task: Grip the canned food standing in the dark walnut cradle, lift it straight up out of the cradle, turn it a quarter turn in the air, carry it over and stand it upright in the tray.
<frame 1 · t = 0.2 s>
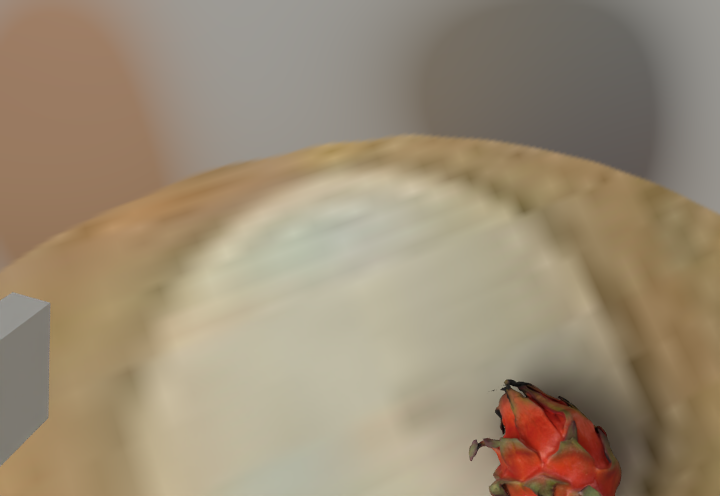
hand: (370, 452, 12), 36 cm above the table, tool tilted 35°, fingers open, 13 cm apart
dragon fruit: (532, 460, 46), on the table
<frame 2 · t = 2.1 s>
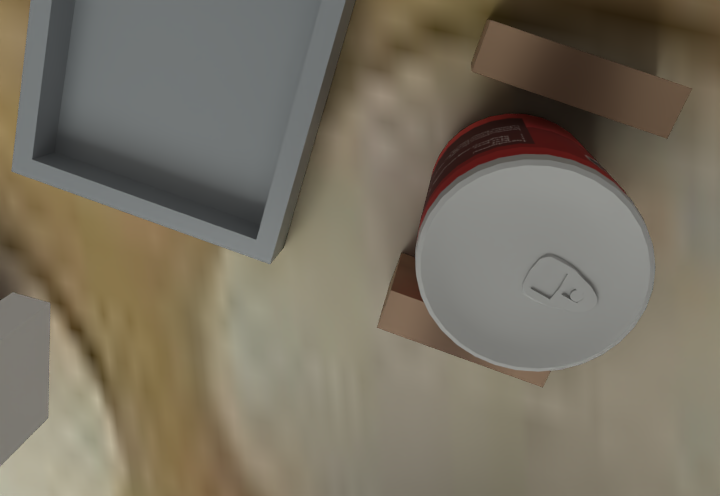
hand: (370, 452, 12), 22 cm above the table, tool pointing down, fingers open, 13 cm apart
canned food: (511, 188, 32), on the table
tray: (188, 77, 32), on the table
can cradle: (511, 190, 32), on the table
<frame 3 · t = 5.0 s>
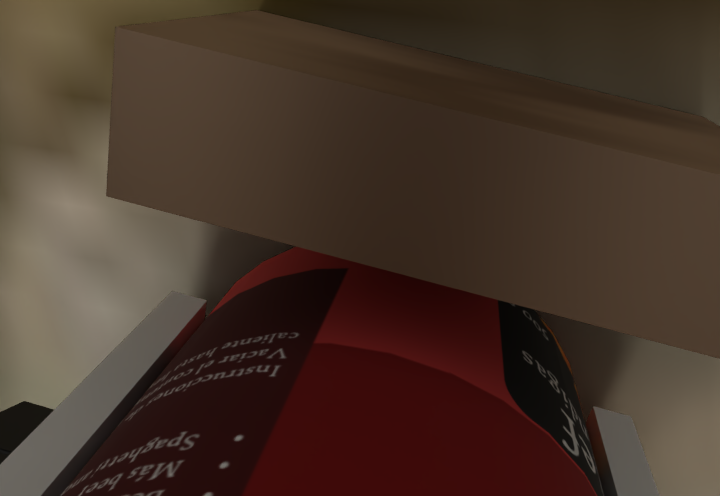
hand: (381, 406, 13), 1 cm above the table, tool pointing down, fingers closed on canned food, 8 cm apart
canned food: (386, 380, 14), on the table, touching gripper
can cradle: (385, 385, 14), on the table
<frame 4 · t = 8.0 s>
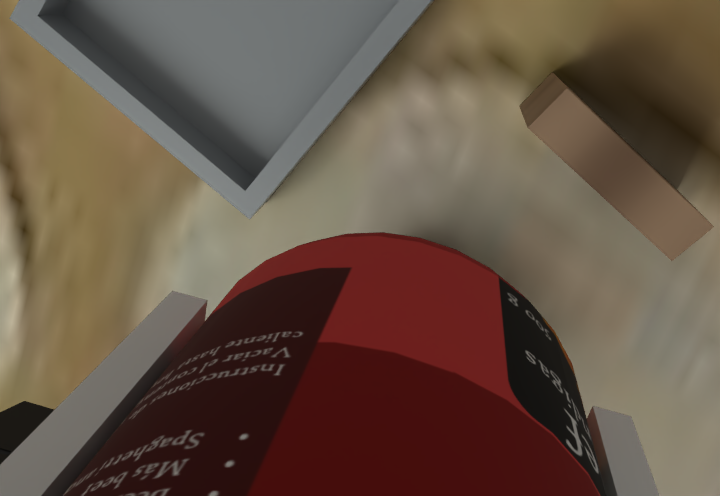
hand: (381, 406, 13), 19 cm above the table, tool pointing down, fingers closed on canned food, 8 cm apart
canned food: (388, 379, 14), point 18 cm above the table, touching gripper
can cradle: (504, 236, 32), on the table
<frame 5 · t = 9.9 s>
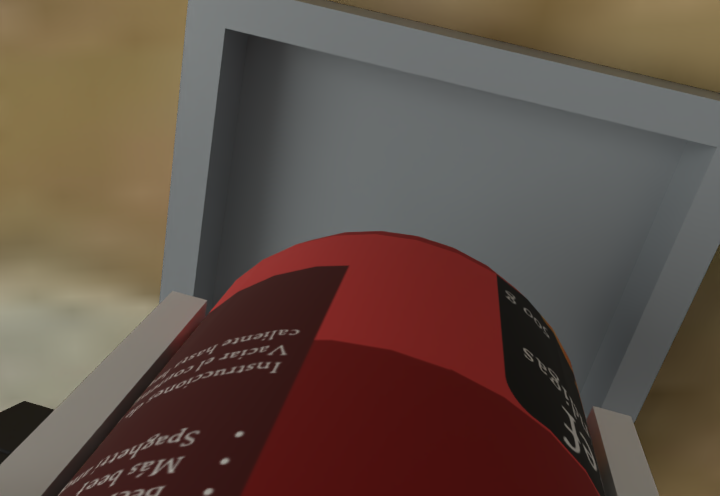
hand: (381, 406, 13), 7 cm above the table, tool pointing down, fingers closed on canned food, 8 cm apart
canned food: (387, 378, 14), point 6 cm above the table, touching gripper
tray: (413, 266, 20), on the table
when the fingers open (3 cm above the table, at t = 11.3 s): canned food drops 1 cm, resting on tray.
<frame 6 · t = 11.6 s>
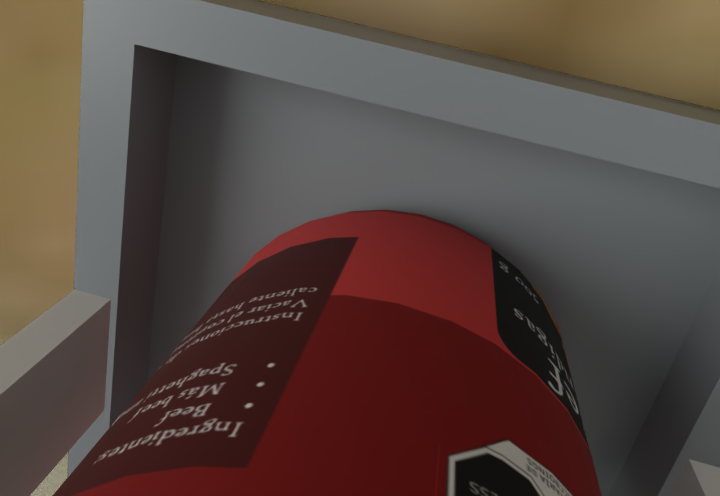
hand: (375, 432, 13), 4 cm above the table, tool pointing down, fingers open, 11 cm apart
canned food: (391, 347, 16), resting on tray
tray: (396, 340, 16), on the table
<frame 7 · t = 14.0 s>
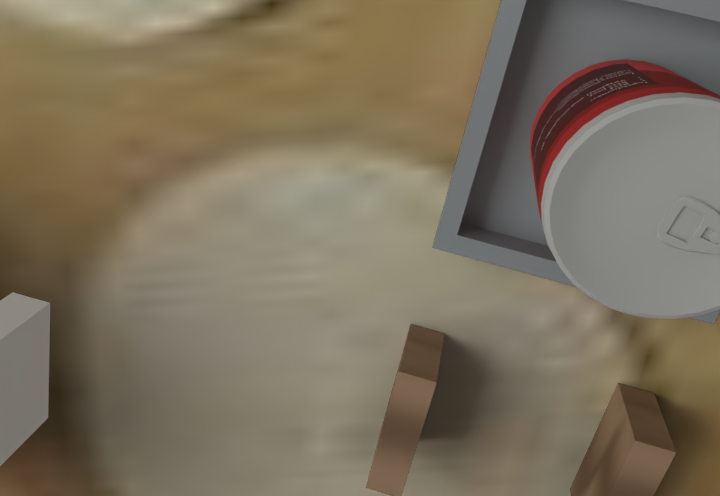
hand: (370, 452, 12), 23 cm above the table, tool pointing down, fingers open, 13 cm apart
canned food: (613, 139, 31), resting on tray
tray: (613, 138, 31), on the table
can cradle: (509, 413, 38), on the table
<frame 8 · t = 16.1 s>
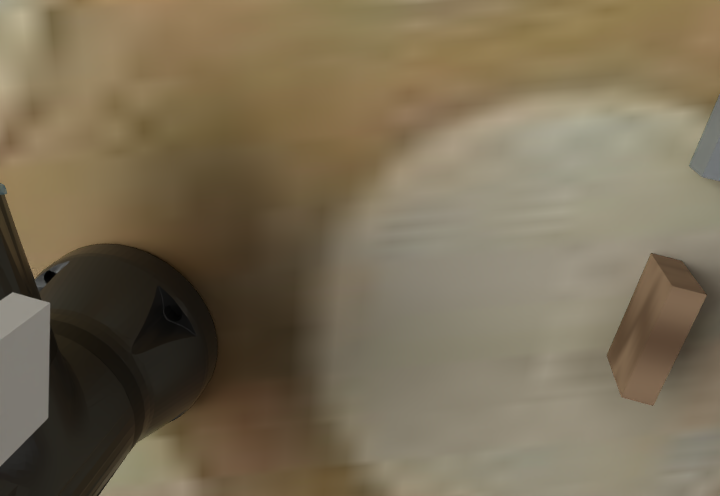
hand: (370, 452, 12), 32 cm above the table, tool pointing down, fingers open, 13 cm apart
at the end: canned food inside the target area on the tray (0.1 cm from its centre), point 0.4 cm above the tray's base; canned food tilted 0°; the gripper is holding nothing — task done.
